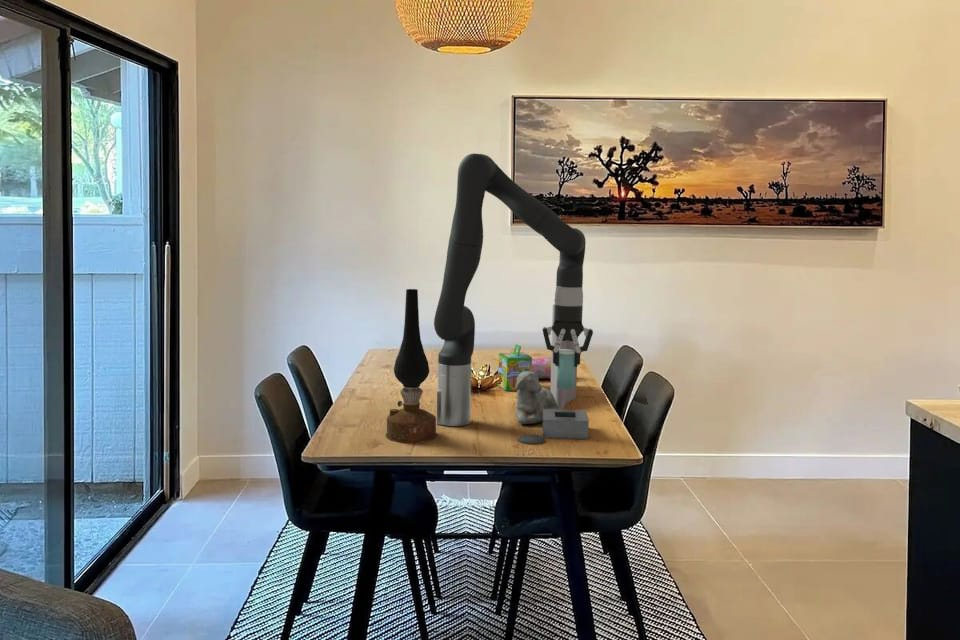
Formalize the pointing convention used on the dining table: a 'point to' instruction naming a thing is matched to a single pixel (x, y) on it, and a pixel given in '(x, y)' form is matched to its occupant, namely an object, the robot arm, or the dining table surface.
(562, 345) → the grey piece
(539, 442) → the coaster
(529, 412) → the sculpture
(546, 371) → the pencil case
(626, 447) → the dining table surface
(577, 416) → the housing
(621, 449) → the dining table surface
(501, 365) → the chalk box
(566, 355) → the teal canister
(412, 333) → the oil lamp
